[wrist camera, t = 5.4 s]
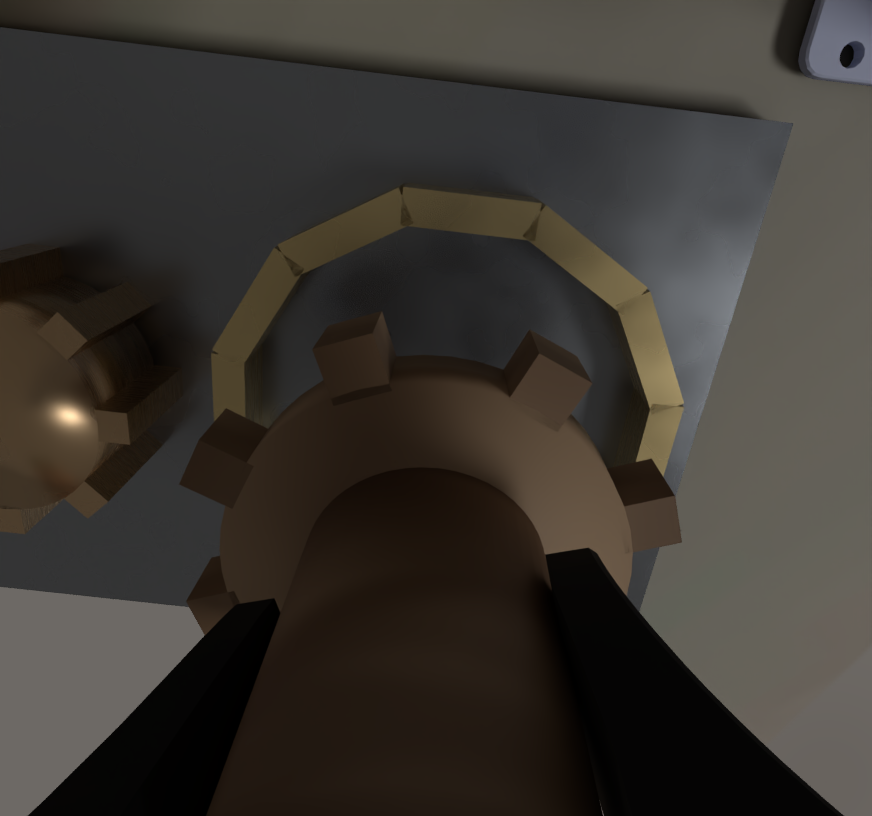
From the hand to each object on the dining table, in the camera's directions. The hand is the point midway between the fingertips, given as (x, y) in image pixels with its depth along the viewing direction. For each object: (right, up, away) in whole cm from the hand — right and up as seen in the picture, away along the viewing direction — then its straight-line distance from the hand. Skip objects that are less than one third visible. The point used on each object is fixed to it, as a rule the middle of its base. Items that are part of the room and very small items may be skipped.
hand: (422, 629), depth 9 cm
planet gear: (0, +1, +2) cm, 2 cm away
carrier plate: (-4, +4, +9) cm, 10 cm away
